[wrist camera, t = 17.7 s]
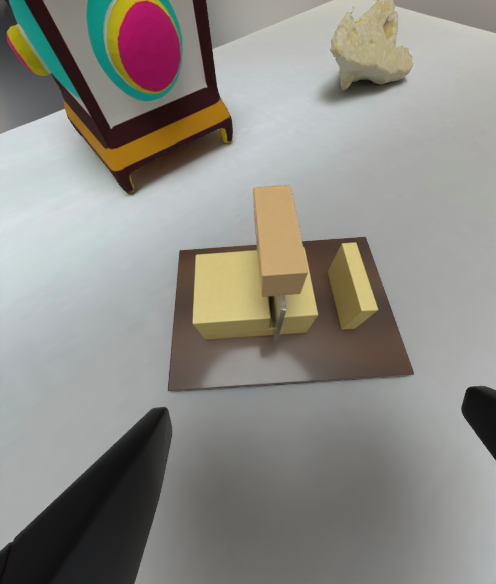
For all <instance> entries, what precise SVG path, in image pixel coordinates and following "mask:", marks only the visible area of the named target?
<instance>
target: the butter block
mask: <svg viewBox="0 0 496 584" xmlns="http://www.w3.org/2000/svg"><path fill="white" fill-rule="evenodd" d="M303 249H304V254H305V259H306V264H307V269H308V274H307V277H306V280H305V282H304V285H303V288H302V290H301V293H300V294H294V295H284V296H285V303H286V313H285V316H284V320H283V323H282V327H281V330H280V334H279V335H281V334H295V333H307V331H308V330H309V328H310V327H311V325H312V323H313V322H314V320H315V319H316V317H317V316H318V311H317V306H316V302H315V297H314V292H313V287H312V282H311V277H310V272H309V267H308V262H307V257H306V253H305V248H304V247H303ZM193 325H194V326H195V327H196V328H197V330H198V331H199V332H200V333H201V335H202V336H203V337H204V338H205V340H208V339H223V338H237V337H252V336H266V335H273V330H272V321H271V312H270V303H269V296H266V297H262V296H261V286H260V275H259V265H258V254H257V250H254V251H241V252H227V253H213V254H200V255H196V262H195V283H194V305H193Z"/></svg>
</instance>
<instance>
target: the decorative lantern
mask: <svg viewBox="0 0 496 584" xmlns="http://www.w3.org/2000/svg"><path fill="white" fill-rule="evenodd" d="M5 1H6V2H7V4H8V6H9V7H10V9H11V10H12V12H13V13H14V16H15V18H16V21H17V23H18V25H15V26H12V27H11V28H10V29H9V30H8V31H7V40H8V43H9V44H10V46H11V48H12V49H13V51H14V52H15V54H16V55H17V57H18V58H19V60H21V62H22V63H23V64H24V65H25V66H26V67H27V68H28V69H29V70H30V71H32V72H33V73H35V74H37V75H48V74H51V75H52V76H53V78H54V79H55V81H56V83H57V84H58V86H59V88H60V90H61V92H62V95H63V100H64V106H65V110H66V113H67V116H68V119H69V120H70V122H71V123H72V125H73V126H74V128H75V129H76V130H77V132H78V133H79V134H80V135H81V136H82V137H84V139H85V140H86V141H87V142H88V144H89V145H90V146H91V147H92V149H93V150H94V151H95V152H96V154H97V155H98V156H99V157H100V159H101V160H102V161H103V163H104V164H105V165H106V166H107V168H108V169H109V170H110V171H111V173H112V174H113V176H114V177H115V179H116V180H117V182H118V183H119V185H120V186H121V187H122V188H123V190H125V191H126V192H128V193H133V192H134V186H133V183H132V181H131V176H130V174H131V173H132V172H133V171H134V170H135V169H137V168H139V167H141V166H143V165H145V164H147V163H149V162H151V161H153V160H155V159H157V158H160V157H162V156H164V155H166V154H168V153H170V152H172V151H174V150H176V149H178V148H180V147H182V146H184V145H186V144H188V143H190V142H192V141H194V140H196V139H198V138H200V137H203V136H205V135H207V134H209V133H211V132H213V131H215V130H217V129H220V134H221V137H222V140H223V141H224V142H225V143H230V142H231V140H232V136H233V128H232V119H231V116H230V114H229V112H228V110H227V108H226V106H225V105H224V103H223V101H222V100H221V98H220V95H219V93H218V89H217V82H216V75H215V67H214V59H213V51H212V44H211V36H210V28H209V20H208V12H207V5H206V0H5Z"/></svg>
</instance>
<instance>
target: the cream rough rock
mask: <svg viewBox="0 0 496 584" xmlns="http://www.w3.org/2000/svg"><path fill="white" fill-rule="evenodd" d="M354 7H355V6H353V7H352V11H351V12H348V13H346V15H345V17H344V19H343V20H342V21H341V23H340V25H339V26H338V28H337V30H336V31H335V33H334V36H333V38H332V40H331V49H330V51H331V52H332V54H333V55H334V57H336V61H337V63H338V65H339V67H340V75H341V81H340V84H341V87H342V91H345V90H346V89H347V88H348V87H349V86H350V85H351V83H352V82H353V81H354V82H357V81H358V80H366V79H369V80H371V81H372V82H374V83H378V84H380V85H382V84H385V83H387V82H392V81H398V80H400V79H402V78H404V77H405V76H406V75H407V74H408V73H409V72H410V70H411V68H412V66H413V63H412V56H411V55H410V53H409V50H408V48H404V47H403V46H399V47H397V48H396V35H397V30H398V14H397V12H395V11H394V8H395V3H394V1H393V0H378V1H377V2H376V3H375V4H374V5H373V6H372V7H371V8H370V9H369V10H368V11H367V12H366V13H365V14H364V15H363V16H362V17H360V18H359V19H358V20H357V21H356V22H354V17H352V16H351V14H352V13H353V10H354Z"/></svg>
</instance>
